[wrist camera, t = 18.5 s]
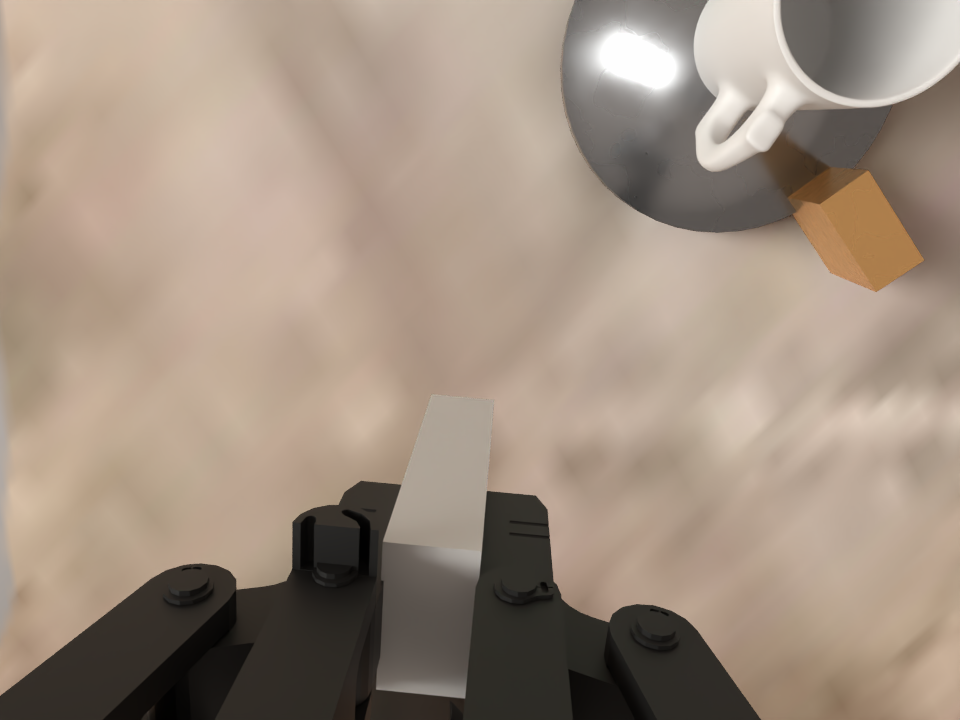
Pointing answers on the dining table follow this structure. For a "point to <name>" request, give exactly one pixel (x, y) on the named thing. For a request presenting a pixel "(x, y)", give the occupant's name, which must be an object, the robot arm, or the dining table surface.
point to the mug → (812, 63)
